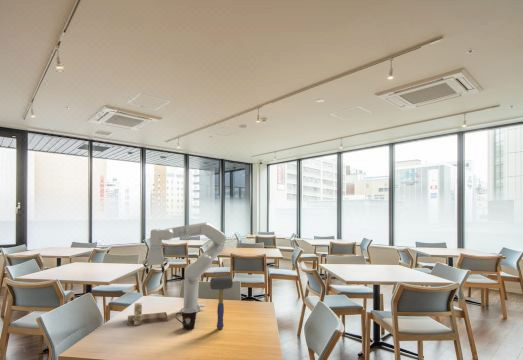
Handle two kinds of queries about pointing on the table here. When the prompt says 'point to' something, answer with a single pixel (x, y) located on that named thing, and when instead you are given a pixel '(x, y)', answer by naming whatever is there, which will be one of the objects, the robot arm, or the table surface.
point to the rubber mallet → (221, 294)
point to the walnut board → (149, 318)
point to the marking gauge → (138, 314)
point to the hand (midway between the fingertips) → (155, 273)
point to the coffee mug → (188, 318)
